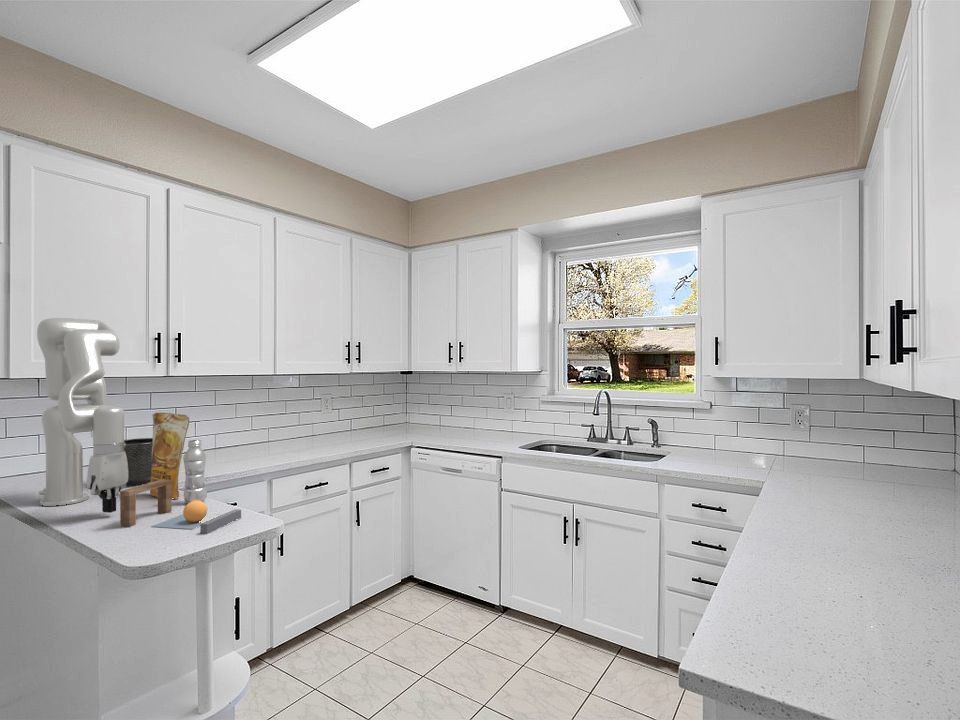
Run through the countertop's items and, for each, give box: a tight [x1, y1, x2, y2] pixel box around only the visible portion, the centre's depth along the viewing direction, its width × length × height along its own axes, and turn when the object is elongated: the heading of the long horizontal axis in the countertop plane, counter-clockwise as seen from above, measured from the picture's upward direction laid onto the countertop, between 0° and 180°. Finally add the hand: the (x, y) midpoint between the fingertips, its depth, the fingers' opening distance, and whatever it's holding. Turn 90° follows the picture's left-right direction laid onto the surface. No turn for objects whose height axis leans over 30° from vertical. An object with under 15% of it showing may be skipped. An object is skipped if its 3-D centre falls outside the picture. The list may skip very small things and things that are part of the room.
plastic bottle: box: [182, 439, 208, 504], centre depth 170 cm, size 6×7×20 cm
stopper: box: [199, 509, 242, 535], centre depth 146 cm, size 2×14×2 cm, turn 169°
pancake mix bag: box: [149, 412, 190, 500], centre depth 179 cm, size 7×19×28 cm, turn 57°
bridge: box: [119, 479, 173, 528], centre depth 153 cm, size 3×15×10 cm, turn 169°
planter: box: [124, 437, 153, 487], centre depth 198 cm, size 17×17×16 cm
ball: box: [182, 501, 208, 523], centre depth 149 cm, size 6×6×6 cm
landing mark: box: [151, 514, 201, 530], centre depth 150 cm, size 13×13×1 cm
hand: (109, 511), depth 155 cm, fingers closed
